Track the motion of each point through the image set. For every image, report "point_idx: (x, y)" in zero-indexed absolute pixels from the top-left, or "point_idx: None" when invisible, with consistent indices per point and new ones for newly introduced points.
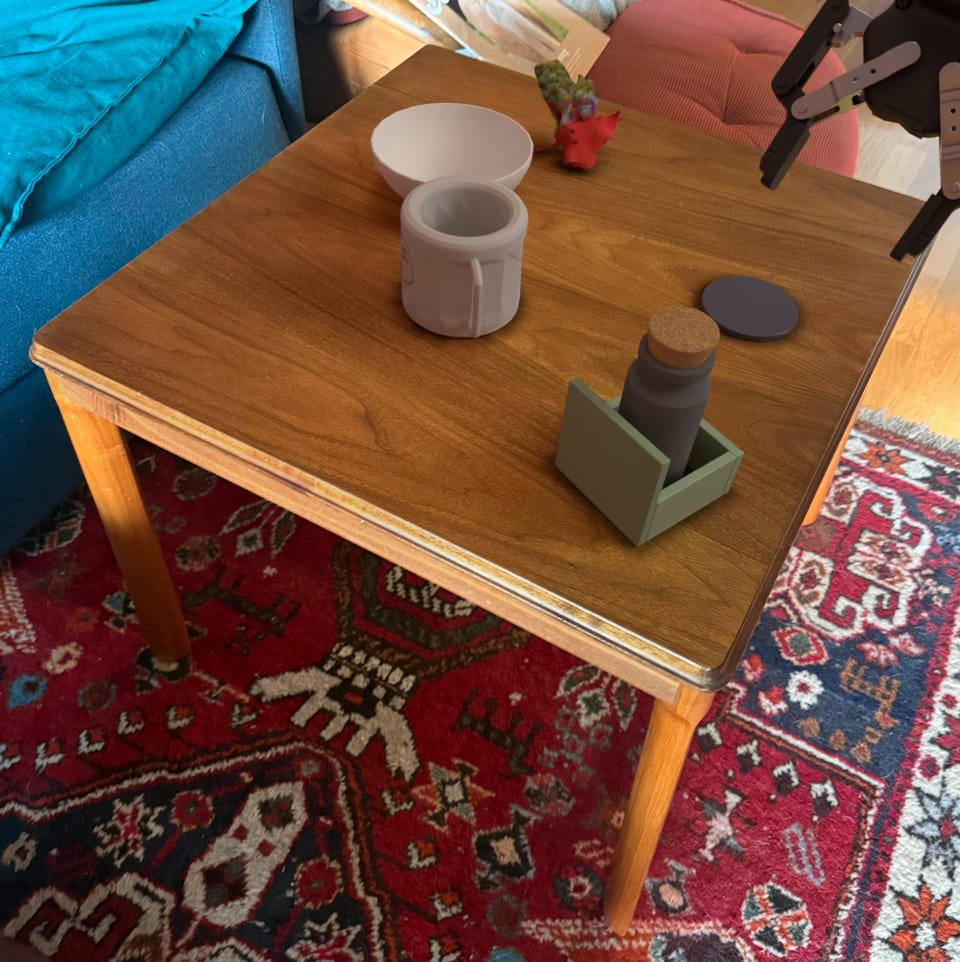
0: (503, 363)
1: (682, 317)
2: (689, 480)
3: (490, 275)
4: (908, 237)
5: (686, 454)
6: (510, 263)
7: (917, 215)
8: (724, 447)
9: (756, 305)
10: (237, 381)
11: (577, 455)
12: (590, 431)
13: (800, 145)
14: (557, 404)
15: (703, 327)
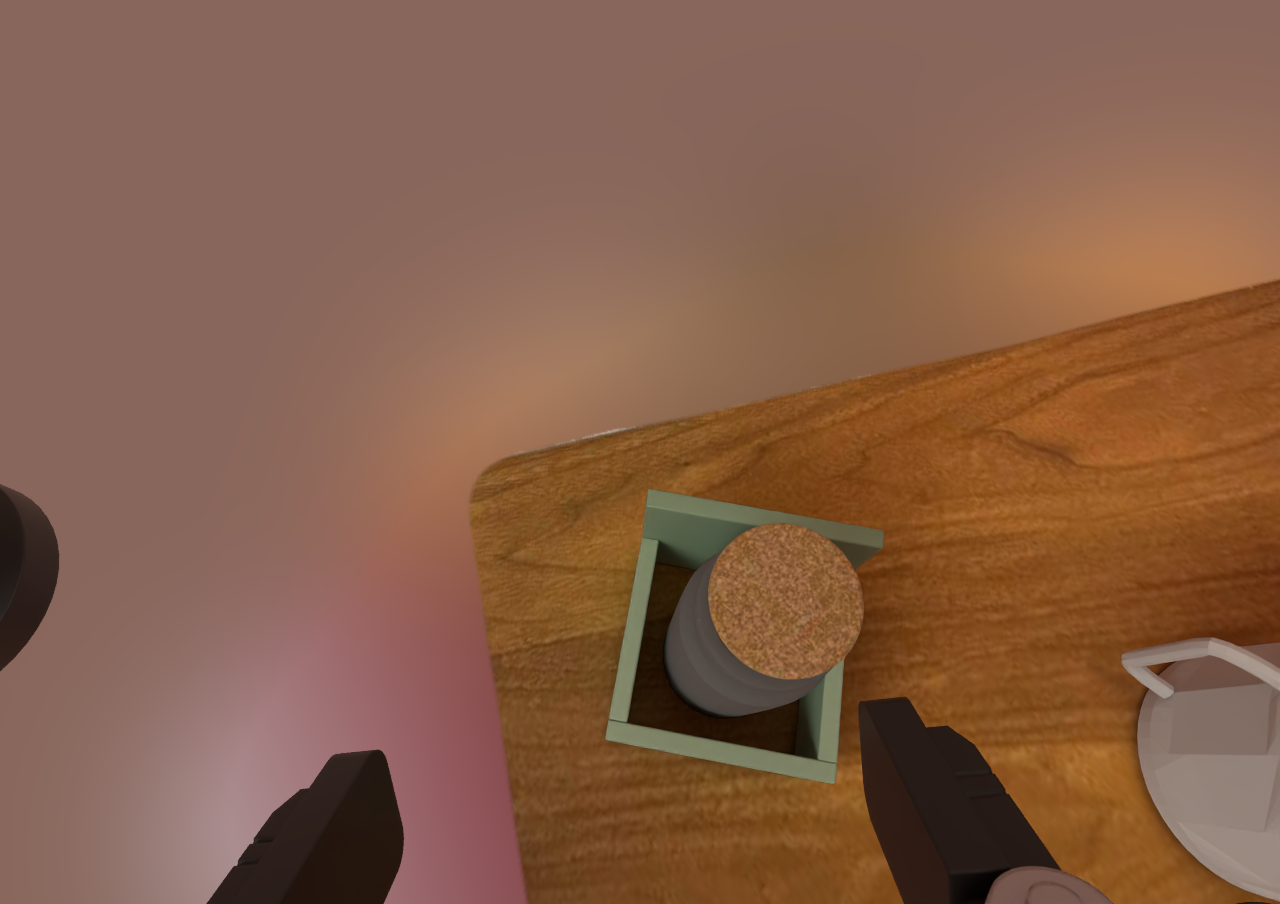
0: (1056, 698)
1: (811, 624)
2: (635, 611)
3: (1243, 724)
4: (329, 787)
5: (668, 641)
6: (1261, 783)
7: (311, 847)
8: (638, 725)
9: None
10: (1215, 377)
11: None
12: None
13: (923, 901)
14: (923, 689)
15: (759, 629)
